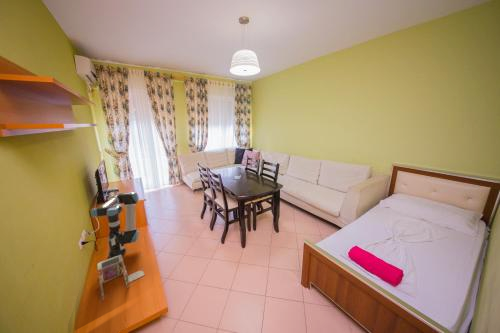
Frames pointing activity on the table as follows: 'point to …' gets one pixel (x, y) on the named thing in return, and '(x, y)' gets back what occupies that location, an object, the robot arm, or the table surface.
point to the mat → (135, 276)
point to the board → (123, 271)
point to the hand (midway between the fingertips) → (118, 246)
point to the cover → (109, 262)
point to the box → (111, 271)
